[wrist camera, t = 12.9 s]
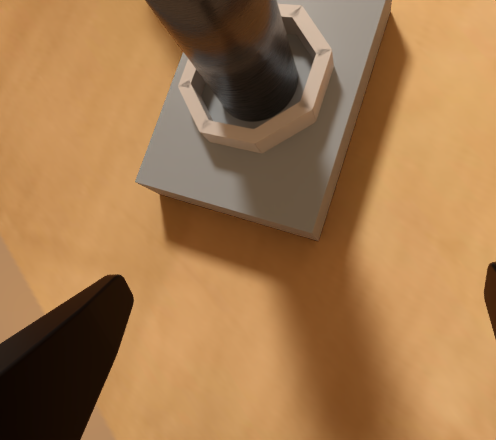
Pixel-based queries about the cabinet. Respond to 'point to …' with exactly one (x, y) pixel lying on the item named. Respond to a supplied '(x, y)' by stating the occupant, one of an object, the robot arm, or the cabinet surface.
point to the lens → (235, 51)
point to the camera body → (272, 125)
